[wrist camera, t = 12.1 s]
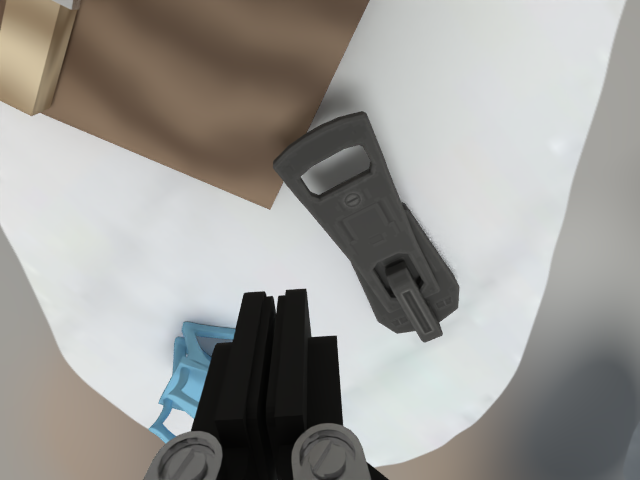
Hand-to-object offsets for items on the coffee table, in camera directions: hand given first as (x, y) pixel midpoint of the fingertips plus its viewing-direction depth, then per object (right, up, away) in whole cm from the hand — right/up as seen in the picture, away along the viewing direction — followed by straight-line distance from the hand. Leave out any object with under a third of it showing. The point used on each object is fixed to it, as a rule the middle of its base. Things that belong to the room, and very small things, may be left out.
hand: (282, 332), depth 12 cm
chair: (-11, -9, +36) cm, 39 cm away
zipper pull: (+6, +4, +29) cm, 30 cm away
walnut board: (-9, +19, +20) cm, 29 cm away
